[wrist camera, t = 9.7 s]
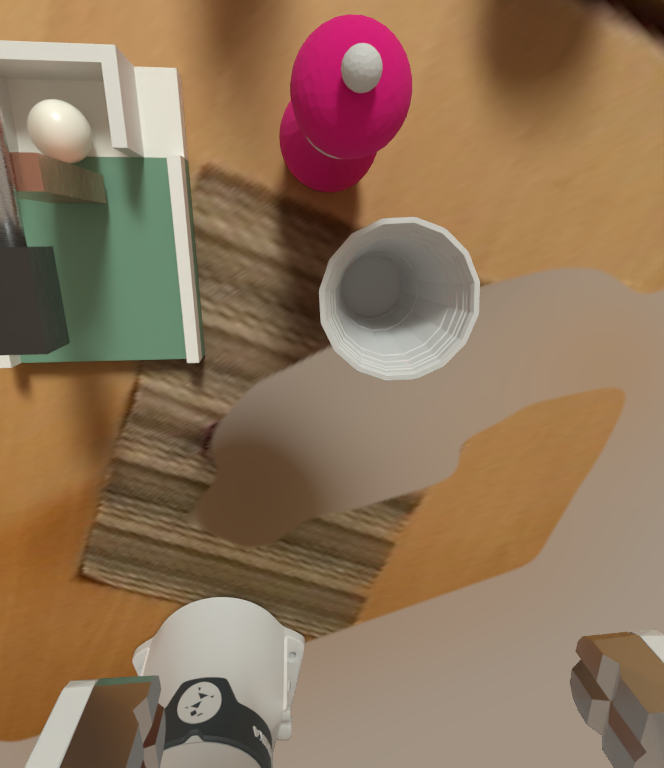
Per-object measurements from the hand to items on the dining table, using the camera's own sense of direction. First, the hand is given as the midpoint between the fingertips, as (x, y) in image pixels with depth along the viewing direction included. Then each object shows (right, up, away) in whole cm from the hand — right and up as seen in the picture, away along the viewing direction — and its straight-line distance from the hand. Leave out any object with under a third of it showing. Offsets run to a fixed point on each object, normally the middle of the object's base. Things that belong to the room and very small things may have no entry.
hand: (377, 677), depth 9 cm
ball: (-20, +24, +24) cm, 39 cm away
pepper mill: (-2, +25, +29) cm, 38 cm away
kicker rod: (-20, +22, +26) cm, 39 cm away
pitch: (-20, +19, +29) cm, 40 cm away
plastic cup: (+2, +15, +33) cm, 36 cm away
